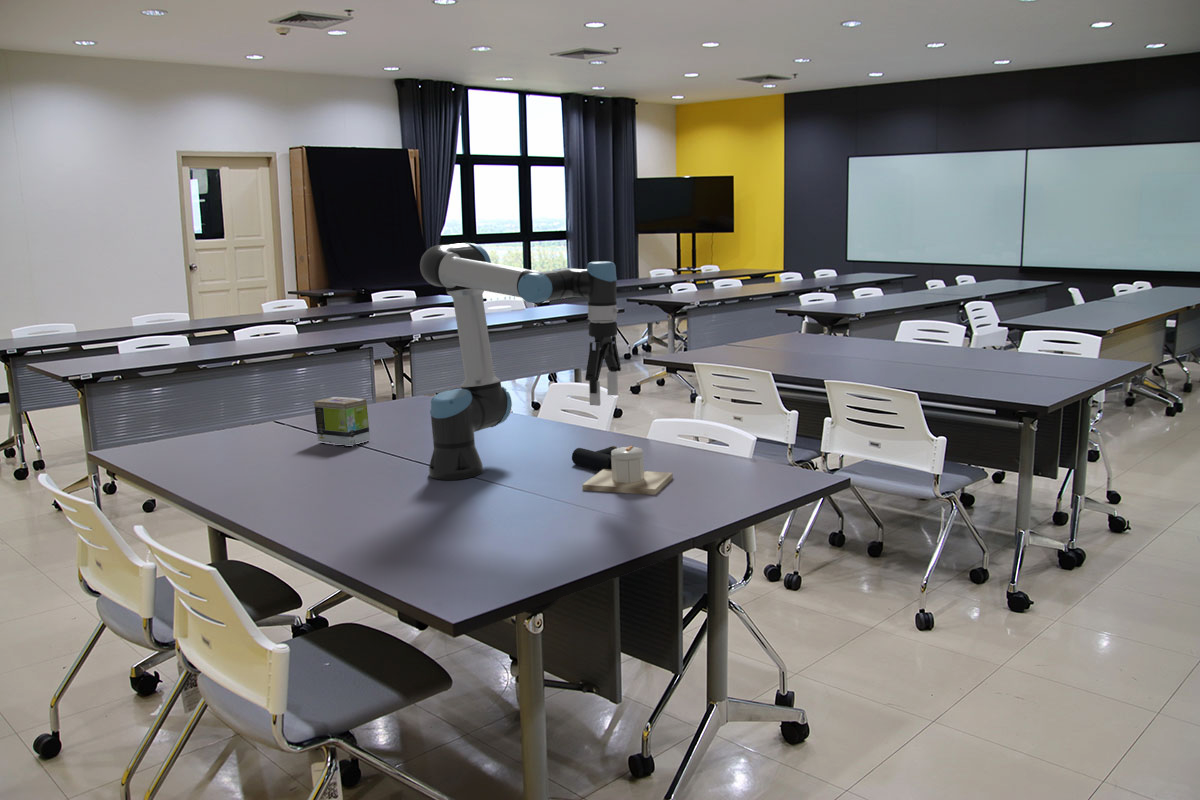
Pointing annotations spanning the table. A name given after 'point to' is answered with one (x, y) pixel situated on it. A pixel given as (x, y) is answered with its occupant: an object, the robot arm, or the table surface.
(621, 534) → the table surface
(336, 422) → the tea box
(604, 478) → the shaft base
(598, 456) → the pipe connector
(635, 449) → the knob
